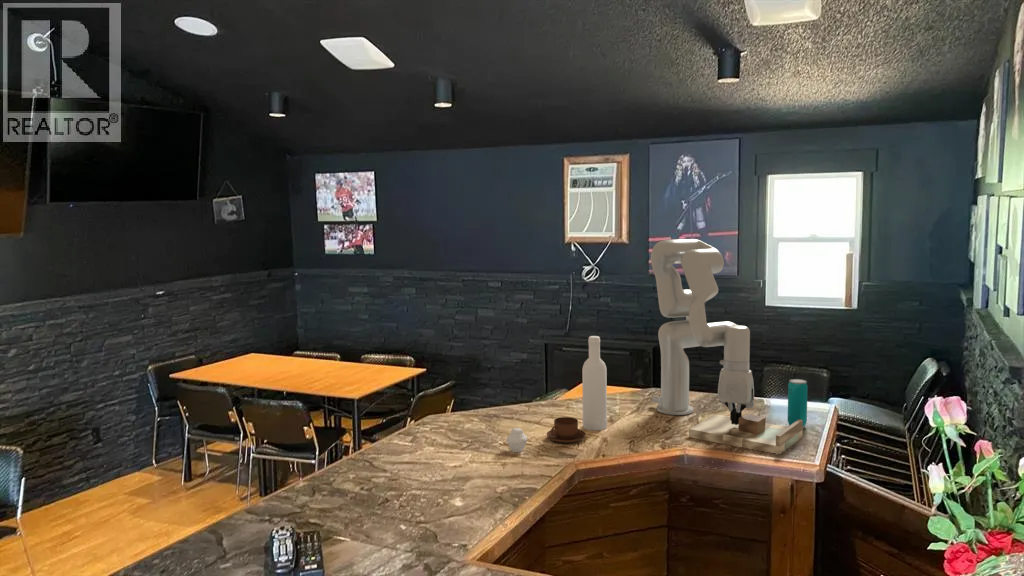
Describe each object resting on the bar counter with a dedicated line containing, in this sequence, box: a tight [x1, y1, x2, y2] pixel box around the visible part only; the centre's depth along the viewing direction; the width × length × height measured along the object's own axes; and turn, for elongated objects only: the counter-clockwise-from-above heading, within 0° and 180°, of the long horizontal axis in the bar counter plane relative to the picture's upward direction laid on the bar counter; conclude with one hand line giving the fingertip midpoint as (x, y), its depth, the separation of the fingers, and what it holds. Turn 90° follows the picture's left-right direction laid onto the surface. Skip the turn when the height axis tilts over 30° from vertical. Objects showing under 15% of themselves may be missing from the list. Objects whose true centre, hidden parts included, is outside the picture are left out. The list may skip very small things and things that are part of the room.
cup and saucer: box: [546, 416, 586, 444], centre depth 223 cm, size 12×12×6 cm
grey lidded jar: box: [506, 427, 528, 453], centre depth 213 cm, size 6×6×7 cm
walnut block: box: [738, 413, 767, 435], centre depth 220 cm, size 6×6×4 cm
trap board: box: [688, 413, 804, 455], centre depth 222 cm, size 28×20×6 cm
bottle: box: [581, 335, 608, 432], centre depth 234 cm, size 8×8×30 cm
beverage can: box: [787, 378, 809, 429], centre depth 231 cm, size 6×6×15 cm
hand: (735, 423), depth 224 cm, fingers closed
